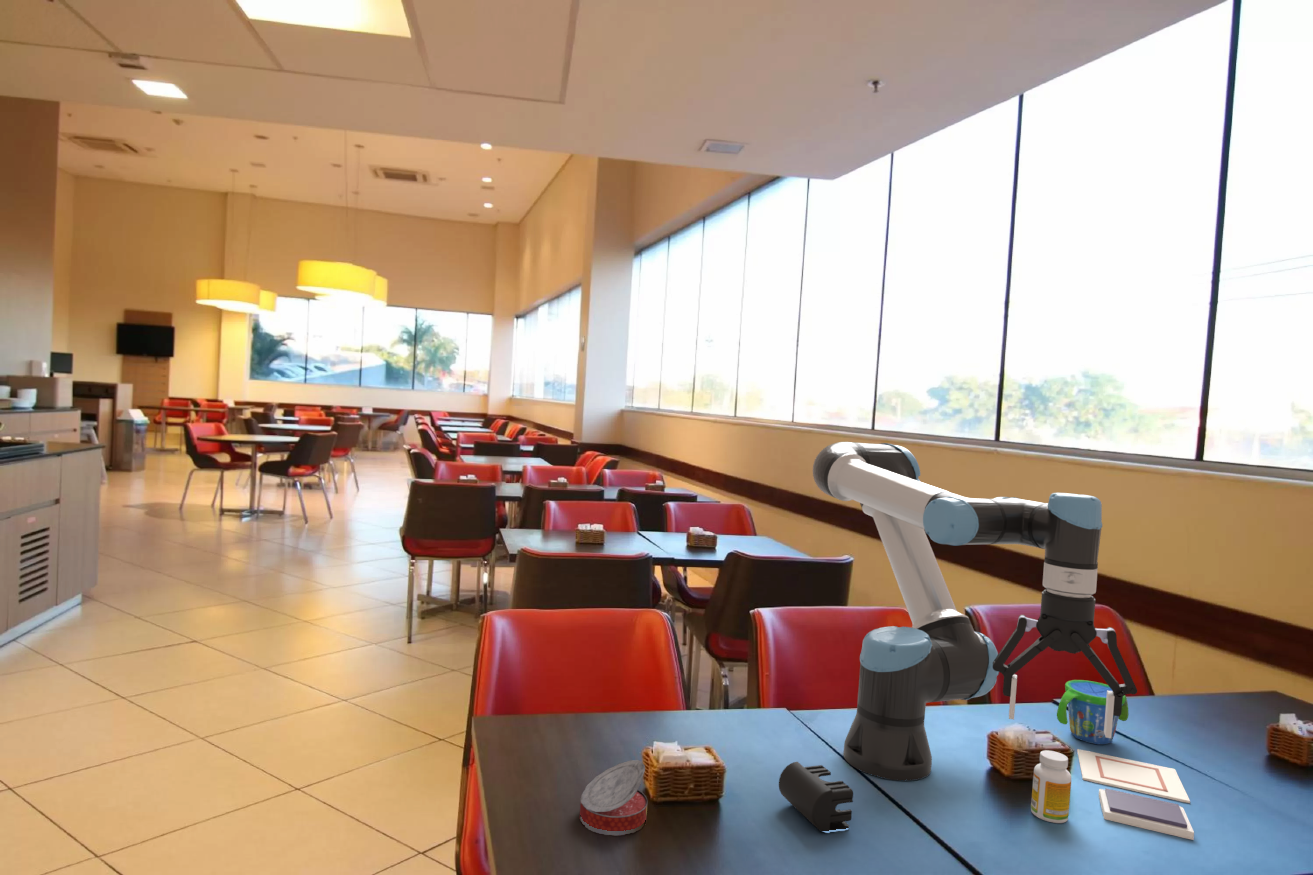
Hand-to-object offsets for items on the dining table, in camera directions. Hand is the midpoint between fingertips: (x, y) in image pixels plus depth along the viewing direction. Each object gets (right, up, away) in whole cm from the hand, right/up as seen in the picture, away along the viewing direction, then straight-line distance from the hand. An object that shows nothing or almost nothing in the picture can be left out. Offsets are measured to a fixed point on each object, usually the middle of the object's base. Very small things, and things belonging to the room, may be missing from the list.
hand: (1058, 725), depth 127 cm
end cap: (-40, -13, -5) cm, 42 cm away
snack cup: (+24, -15, +35) cm, 45 cm away
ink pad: (+15, -16, +2) cm, 22 cm away
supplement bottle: (-1, -15, +1) cm, 15 cm away
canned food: (-70, -11, -9) cm, 71 cm away
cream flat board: (+22, -15, +18) cm, 32 cm away
